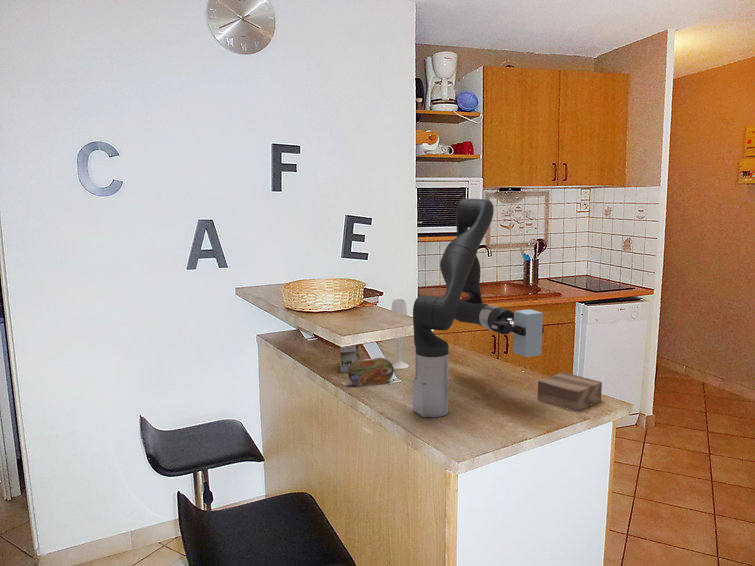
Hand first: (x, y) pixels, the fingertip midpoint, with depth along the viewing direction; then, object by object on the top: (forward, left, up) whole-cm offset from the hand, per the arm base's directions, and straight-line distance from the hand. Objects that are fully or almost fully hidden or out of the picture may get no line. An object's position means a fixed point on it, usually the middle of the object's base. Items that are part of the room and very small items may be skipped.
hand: (533, 331), depth 157 cm
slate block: (0, +3, -7) cm, 7 cm away
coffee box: (-31, +61, -24) cm, 72 cm away
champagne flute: (-14, +56, -24) cm, 62 cm away
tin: (-31, +43, -24) cm, 58 cm away
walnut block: (+16, +3, -24) cm, 29 cm away
